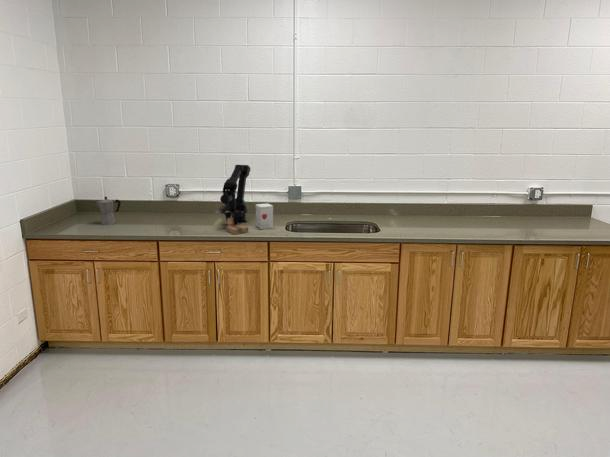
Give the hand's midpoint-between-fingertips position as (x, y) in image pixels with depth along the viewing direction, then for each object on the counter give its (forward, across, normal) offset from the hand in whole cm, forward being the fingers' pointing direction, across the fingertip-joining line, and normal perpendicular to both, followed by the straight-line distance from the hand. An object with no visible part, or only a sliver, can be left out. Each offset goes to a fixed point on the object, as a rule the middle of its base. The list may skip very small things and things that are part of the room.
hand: (231, 224), depth 301 cm
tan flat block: (+2, +13, -3) cm, 13 cm away
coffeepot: (+2, -54, -62) cm, 82 cm away
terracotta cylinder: (+2, 0, 0) cm, 2 cm away
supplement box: (+2, +13, +17) cm, 21 cm away
